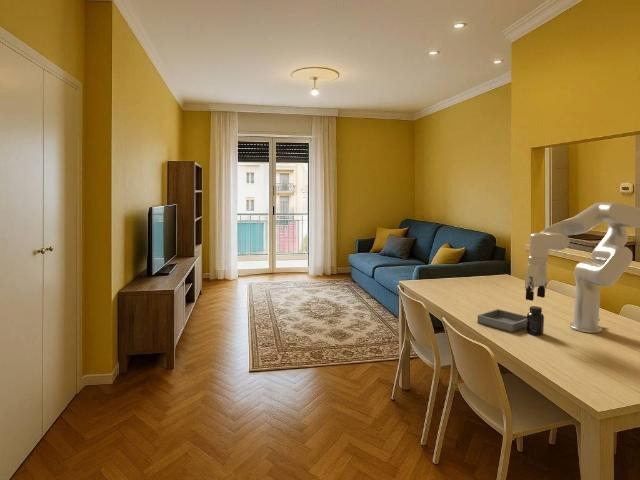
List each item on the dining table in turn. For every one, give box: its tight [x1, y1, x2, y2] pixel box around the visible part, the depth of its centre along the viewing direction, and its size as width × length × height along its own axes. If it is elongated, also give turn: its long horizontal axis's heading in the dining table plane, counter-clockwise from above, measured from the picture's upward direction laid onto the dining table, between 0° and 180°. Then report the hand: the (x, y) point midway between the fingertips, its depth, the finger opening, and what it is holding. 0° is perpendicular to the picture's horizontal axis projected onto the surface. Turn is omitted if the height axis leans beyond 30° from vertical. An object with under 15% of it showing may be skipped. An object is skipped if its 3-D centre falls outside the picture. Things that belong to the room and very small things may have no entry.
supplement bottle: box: [526, 305, 545, 336], centre depth 182 cm, size 7×7×12 cm
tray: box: [476, 308, 527, 334], centre depth 195 cm, size 17×18×4 cm
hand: (535, 298), depth 181 cm, fingers open, 9 cm apart
